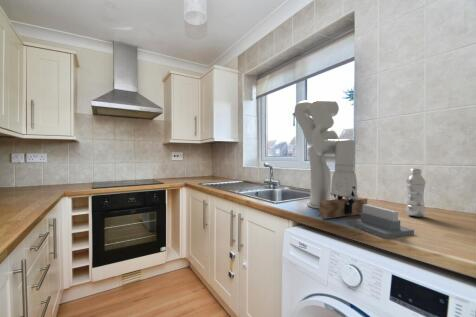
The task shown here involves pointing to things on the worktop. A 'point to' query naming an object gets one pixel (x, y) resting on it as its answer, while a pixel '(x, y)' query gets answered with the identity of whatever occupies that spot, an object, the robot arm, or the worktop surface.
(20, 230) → the worktop surface
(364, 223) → the ridge stand
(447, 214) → the worktop surface
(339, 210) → the brown wooden block
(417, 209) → the plastic bottle
